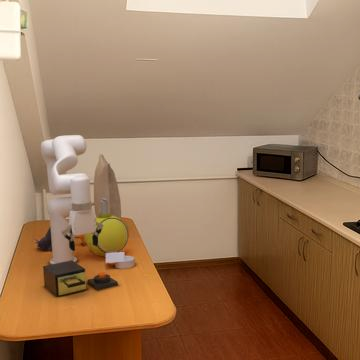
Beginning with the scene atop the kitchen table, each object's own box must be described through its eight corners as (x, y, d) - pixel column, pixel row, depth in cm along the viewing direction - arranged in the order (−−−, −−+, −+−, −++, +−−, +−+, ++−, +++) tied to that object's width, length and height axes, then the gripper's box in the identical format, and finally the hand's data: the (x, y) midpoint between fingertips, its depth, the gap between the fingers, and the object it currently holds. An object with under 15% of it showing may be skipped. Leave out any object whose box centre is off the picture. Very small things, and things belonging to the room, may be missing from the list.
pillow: (125, 240, 302) (121, 162, 295) (99, 243, 298) (94, 164, 291) (116, 222, 343) (112, 153, 336) (93, 224, 339) (89, 154, 331)
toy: (77, 253, 280) (73, 195, 275) (116, 246, 293) (114, 190, 288) (95, 265, 262) (91, 203, 256) (136, 256, 274) (134, 197, 269)
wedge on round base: (106, 269, 255) (134, 267, 257) (105, 255, 254) (134, 254, 256) (106, 263, 263) (134, 261, 266) (106, 250, 262) (134, 248, 265)
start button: (107, 277, 235) (107, 273, 235) (99, 279, 233) (99, 275, 233) (104, 275, 238) (104, 271, 238) (96, 277, 236) (96, 273, 235)
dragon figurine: (87, 231, 291) (38, 226, 279) (83, 253, 291) (34, 249, 280) (84, 226, 300) (36, 221, 289) (80, 248, 301) (32, 244, 290)
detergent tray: (91, 292, 225) (90, 275, 223) (63, 299, 218) (62, 281, 217) (74, 280, 239) (73, 264, 238) (47, 286, 232) (46, 269, 231)
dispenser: (86, 289, 230) (85, 268, 229) (56, 296, 223) (55, 275, 221) (73, 280, 242) (72, 260, 240) (44, 286, 234) (42, 266, 233)
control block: (117, 285, 234) (117, 277, 234) (97, 290, 229) (97, 282, 228) (106, 278, 243) (106, 271, 242) (87, 283, 238) (86, 275, 237)
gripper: (97, 202, 231) (99, 242, 234) (57, 208, 220) (59, 249, 223) (105, 205, 225) (107, 245, 228) (64, 211, 214) (67, 253, 217)
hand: (84, 247), depth 225 cm, fingers open, 9 cm apart
